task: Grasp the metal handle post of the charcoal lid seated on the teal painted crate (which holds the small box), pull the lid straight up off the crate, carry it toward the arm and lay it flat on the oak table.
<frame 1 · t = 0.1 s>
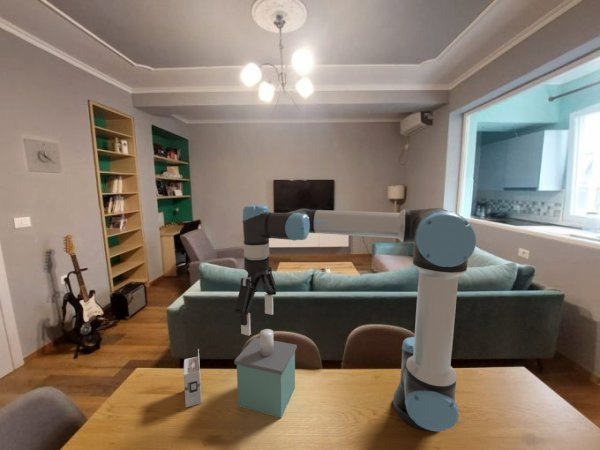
hand: (258, 323, 83), 28 cm above the table, fingers open, 13 cm apart
lid: (267, 355, 88), point 15 cm above the table, touching crate
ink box: (193, 397, 90), on the table
crate: (267, 396, 90), on the table
small box: (267, 397, 90), resting in crate
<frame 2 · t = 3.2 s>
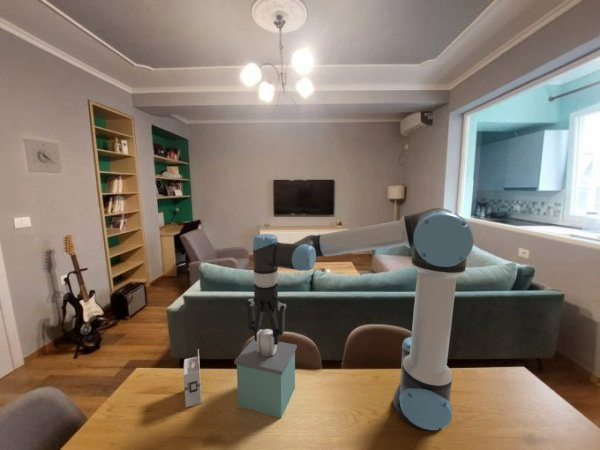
hand: (267, 351, 88), 17 cm above the table, fingers closed on lid, 4 cm apart
lid: (267, 355, 88), point 15 cm above the table, touching crate, gripper
everything else where it was.
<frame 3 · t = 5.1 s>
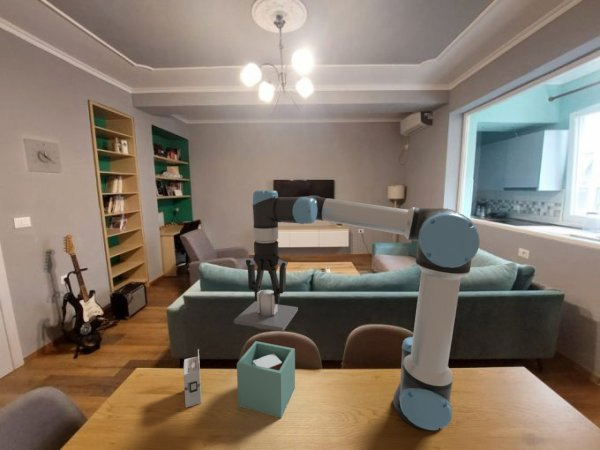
hand: (267, 311, 86), 30 cm above the table, fingers closed on lid, 4 cm apart
lid: (267, 316, 86), point 29 cm above the table, touching gripper
everything else where it was.
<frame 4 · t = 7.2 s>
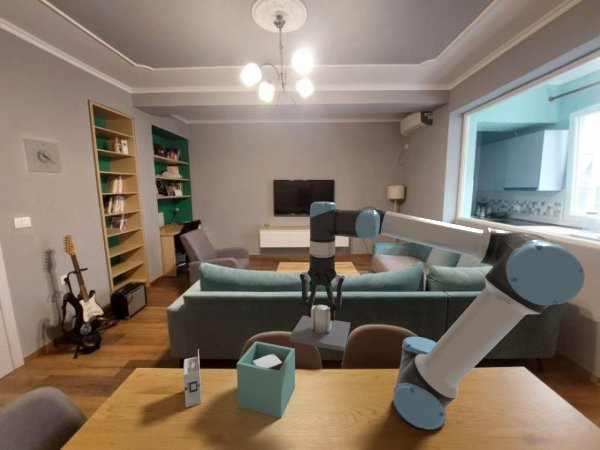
hand: (321, 328, 82), 27 cm above the table, fingers closed on lid, 4 cm apart
lid: (321, 333, 82), point 26 cm above the table, touching gripper
everything else where it was.
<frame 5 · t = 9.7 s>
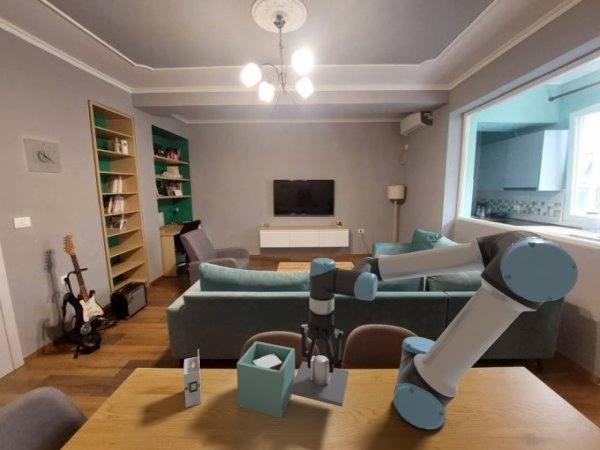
hand: (320, 378, 85), 10 cm above the table, fingers closed on lid, 4 cm apart
lid: (320, 383, 85), point 8 cm above the table, touching gripper
everything else where it was.
when the fingers open (5 cm above the table, at t = 11.7 s): lid drops 1 cm, point 1 cm above the table.
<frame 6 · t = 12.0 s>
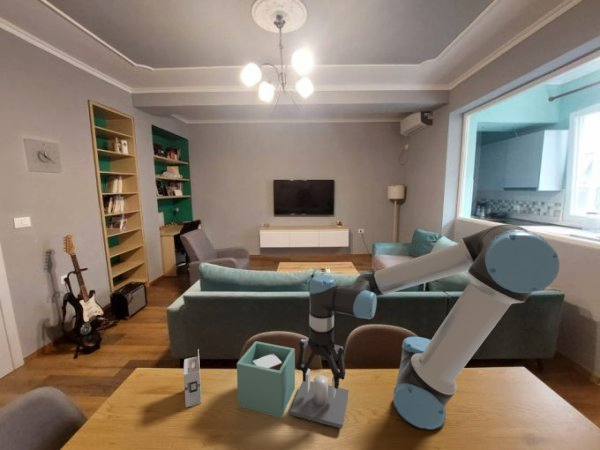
hand: (320, 392, 85), 5 cm above the table, fingers open, 8 cm apart
lid: (320, 403, 86), point 1 cm above the table
everything else where it was.
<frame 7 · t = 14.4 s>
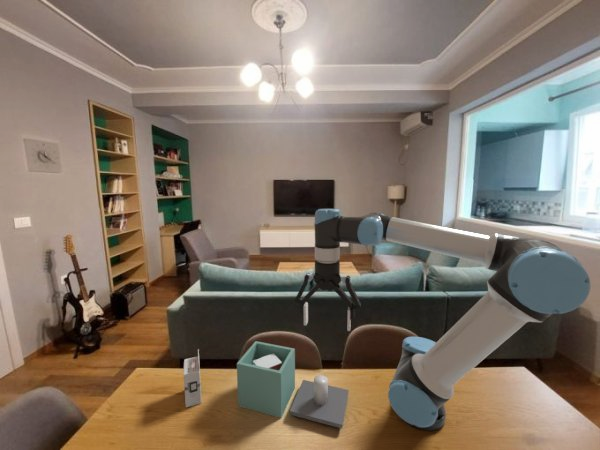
hand: (326, 326, 84), 27 cm above the table, fingers open, 13 cm apart
nothing on the table moved.
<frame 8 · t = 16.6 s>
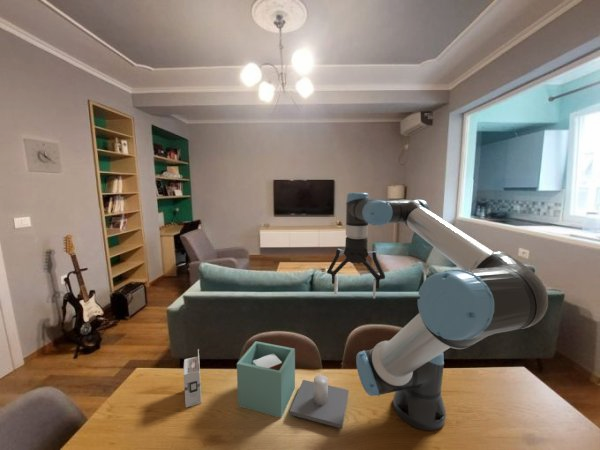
hand: (354, 294, 97), 32 cm above the table, fingers open, 13 cm apart
nothing on the table moved.
at the end: lid inside the target area (0.1 cm from its centre), point 1.5 cm above the table; lid tilted 0°; the gripper is holding nothing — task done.
